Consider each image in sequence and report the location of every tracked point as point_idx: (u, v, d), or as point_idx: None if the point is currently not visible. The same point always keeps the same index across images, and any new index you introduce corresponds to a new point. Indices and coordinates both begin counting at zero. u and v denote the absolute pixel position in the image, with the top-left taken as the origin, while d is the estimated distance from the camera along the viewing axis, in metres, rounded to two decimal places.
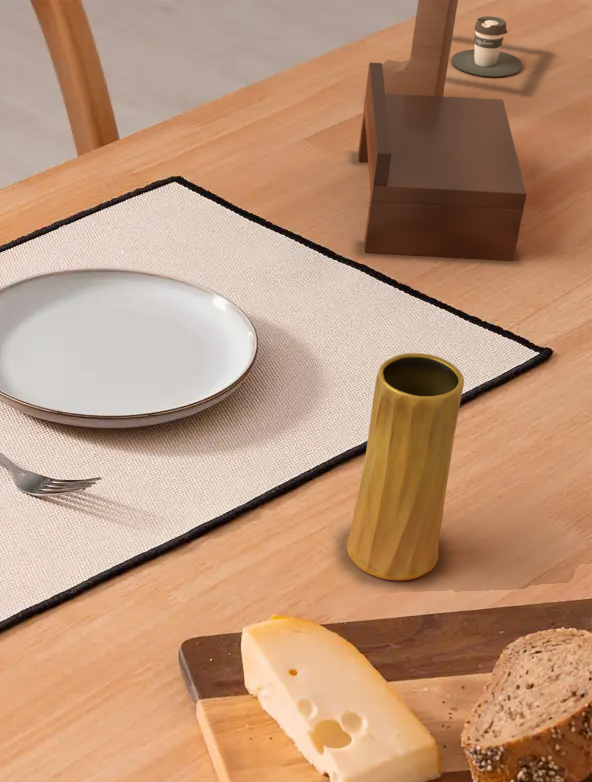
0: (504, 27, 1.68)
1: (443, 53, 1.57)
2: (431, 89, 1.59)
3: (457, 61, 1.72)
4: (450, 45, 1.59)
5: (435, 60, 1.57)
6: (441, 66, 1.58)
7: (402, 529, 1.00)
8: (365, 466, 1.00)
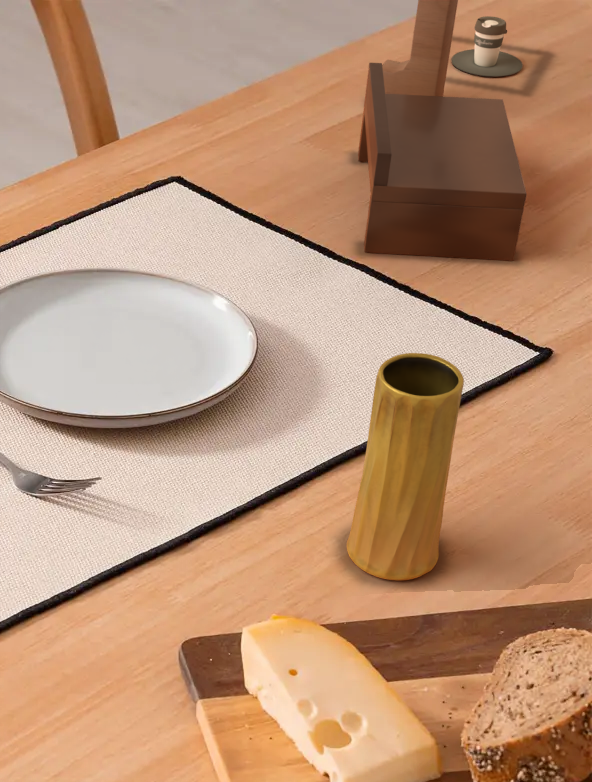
0: (504, 27, 1.68)
1: (443, 53, 1.57)
2: (431, 89, 1.59)
3: (457, 61, 1.72)
4: (450, 45, 1.59)
5: (435, 60, 1.57)
6: (441, 66, 1.58)
7: (402, 529, 1.00)
8: (365, 466, 1.00)
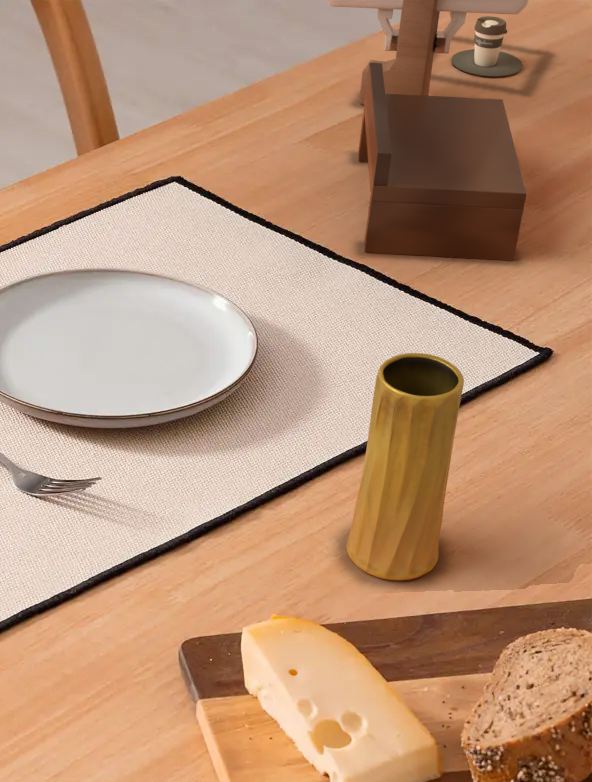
0: (504, 27, 1.68)
1: (429, 52, 1.57)
2: (418, 88, 1.59)
3: (457, 61, 1.72)
4: (434, 43, 1.59)
5: (421, 59, 1.57)
6: (427, 65, 1.58)
7: (402, 529, 1.00)
8: (365, 466, 1.00)
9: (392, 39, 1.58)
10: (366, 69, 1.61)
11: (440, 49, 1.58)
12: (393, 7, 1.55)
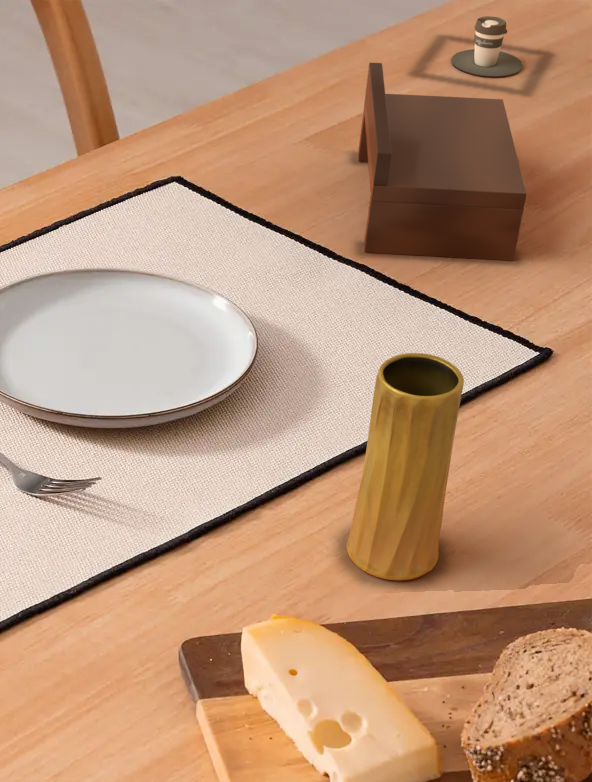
0: (504, 27, 1.68)
1: None
2: None
3: (457, 61, 1.72)
4: None
5: None
6: None
7: (402, 529, 1.00)
8: (365, 466, 1.00)
9: None
10: None
11: None
12: None
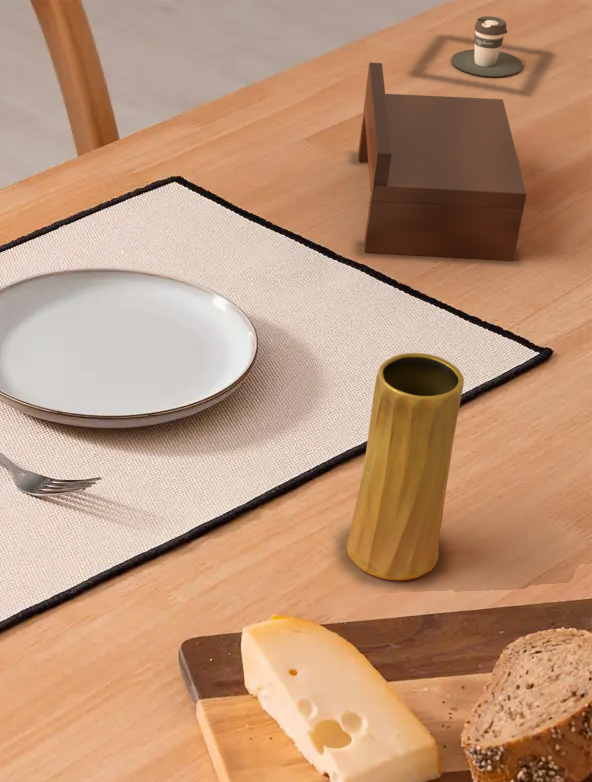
0: (504, 27, 1.68)
1: None
2: None
3: (457, 61, 1.72)
4: None
5: None
6: None
7: (402, 529, 1.00)
8: (365, 466, 1.00)
9: None
10: None
11: None
12: None
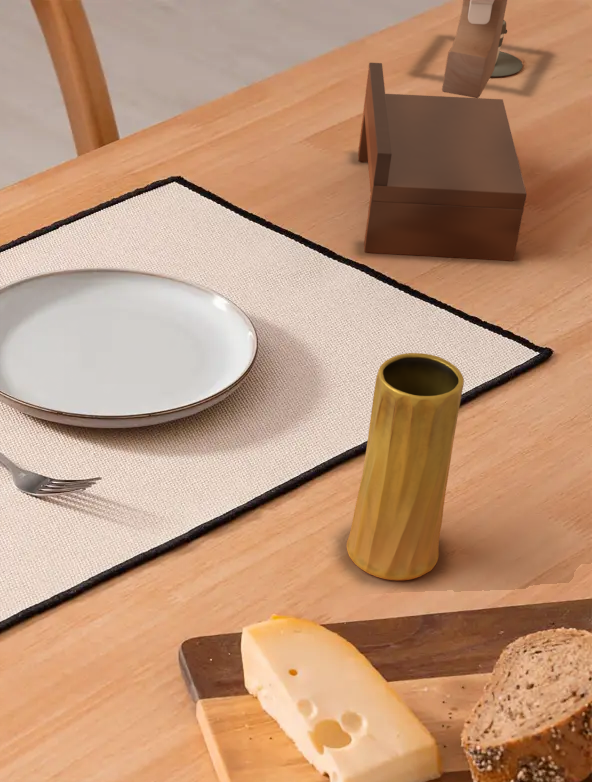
0: (504, 27, 1.68)
1: None
2: (498, 43, 1.35)
3: None
4: None
5: (505, 9, 1.33)
6: None
7: (402, 529, 1.00)
8: (365, 466, 1.00)
9: None
10: (483, 55, 1.31)
11: None
12: None
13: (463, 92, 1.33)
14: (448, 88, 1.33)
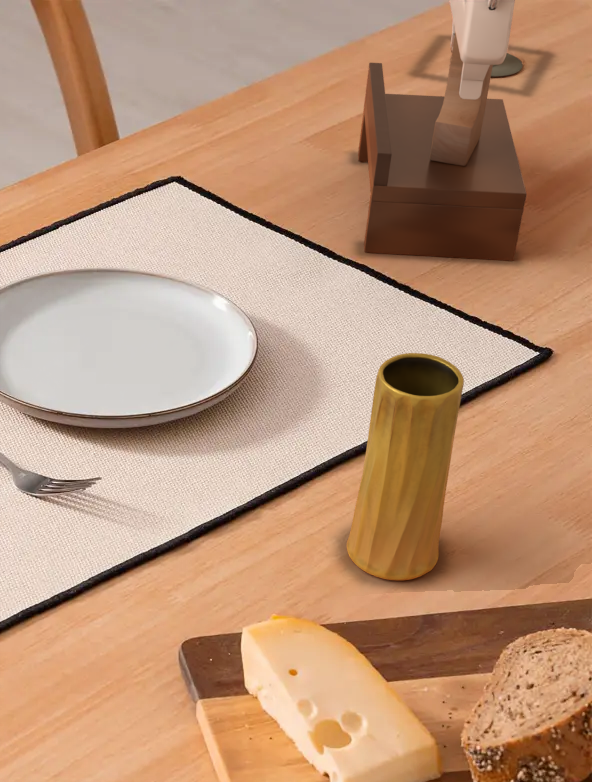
0: None
1: None
2: (484, 111, 1.39)
3: None
4: None
5: (489, 78, 1.37)
6: None
7: (402, 529, 1.00)
8: (365, 466, 1.00)
9: None
10: (469, 125, 1.34)
11: None
12: None
13: (450, 160, 1.37)
14: (436, 156, 1.37)
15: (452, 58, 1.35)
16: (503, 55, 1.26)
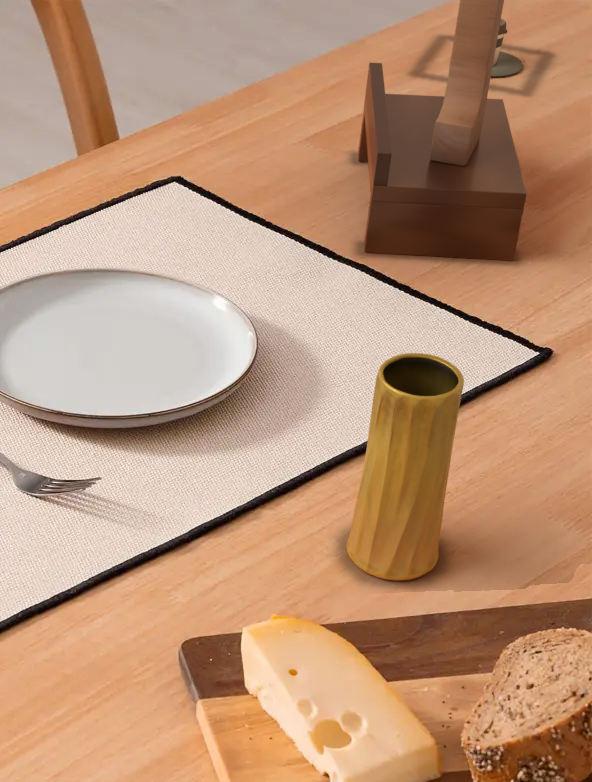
0: (504, 27, 1.68)
1: None
2: (484, 111, 1.39)
3: None
4: None
5: (489, 78, 1.37)
6: None
7: (402, 529, 1.00)
8: (365, 466, 1.00)
9: None
10: (469, 125, 1.34)
11: None
12: None
13: (450, 160, 1.37)
14: (436, 156, 1.37)
15: (452, 58, 1.35)
16: None
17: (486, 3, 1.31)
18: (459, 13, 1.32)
